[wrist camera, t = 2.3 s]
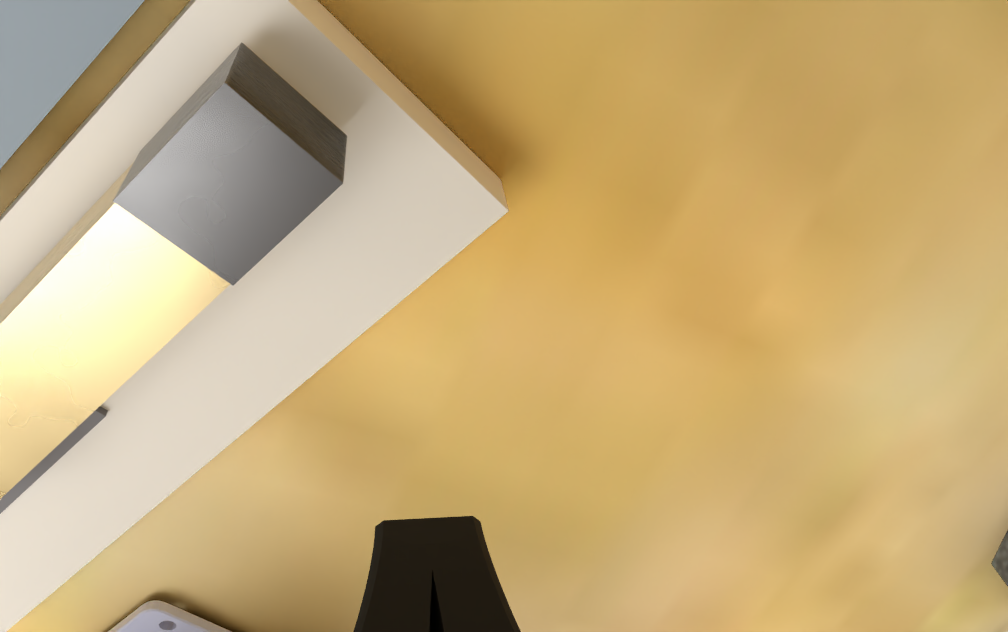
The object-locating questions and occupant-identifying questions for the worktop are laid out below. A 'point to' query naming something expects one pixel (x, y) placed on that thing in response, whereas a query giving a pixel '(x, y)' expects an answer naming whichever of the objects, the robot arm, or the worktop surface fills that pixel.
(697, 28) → the worktop surface
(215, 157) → the swing bar
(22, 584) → the jamb plate
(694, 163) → the worktop surface
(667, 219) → the worktop surface
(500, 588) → the robot arm
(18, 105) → the door panel
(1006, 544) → the mortar and pestle
